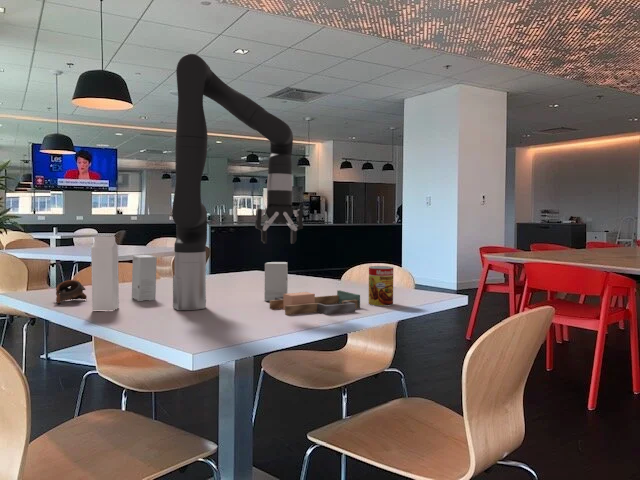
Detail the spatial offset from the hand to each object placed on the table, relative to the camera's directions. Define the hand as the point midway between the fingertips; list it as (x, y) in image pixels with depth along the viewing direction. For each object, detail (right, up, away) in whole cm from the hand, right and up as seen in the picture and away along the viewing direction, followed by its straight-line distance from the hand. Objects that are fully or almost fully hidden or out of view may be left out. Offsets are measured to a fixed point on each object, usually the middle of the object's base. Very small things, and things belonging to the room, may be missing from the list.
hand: (279, 243), depth 156 cm
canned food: (+32, -20, +11) cm, 39 cm away
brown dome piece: (-69, -20, +13) cm, 73 cm away
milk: (-52, -20, -2) cm, 55 cm away
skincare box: (-47, -19, +19) cm, 54 cm away
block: (+6, -20, 0) cm, 21 cm away
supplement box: (-2, -19, +19) cm, 27 cm away
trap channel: (+10, -20, +2) cm, 22 cm away
